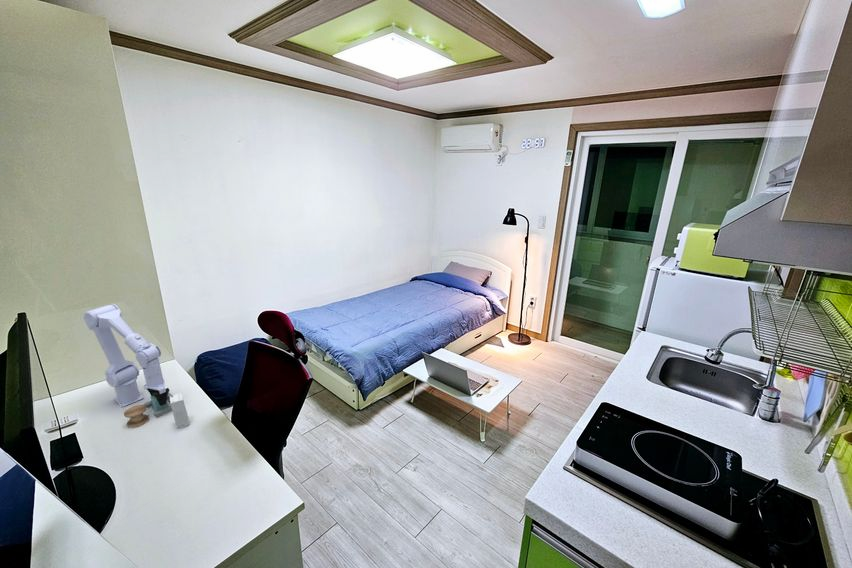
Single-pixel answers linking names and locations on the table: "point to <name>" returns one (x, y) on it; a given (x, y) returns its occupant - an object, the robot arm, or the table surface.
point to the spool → (136, 416)
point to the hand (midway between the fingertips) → (159, 401)
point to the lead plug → (157, 404)
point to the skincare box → (179, 410)
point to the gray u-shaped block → (162, 411)
